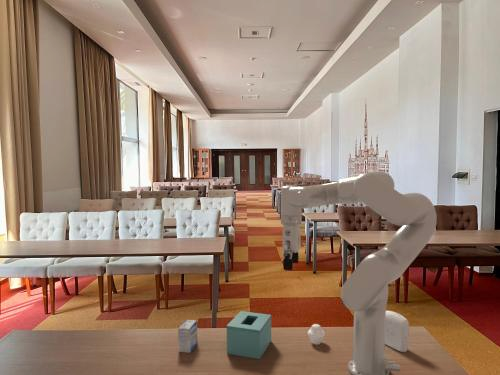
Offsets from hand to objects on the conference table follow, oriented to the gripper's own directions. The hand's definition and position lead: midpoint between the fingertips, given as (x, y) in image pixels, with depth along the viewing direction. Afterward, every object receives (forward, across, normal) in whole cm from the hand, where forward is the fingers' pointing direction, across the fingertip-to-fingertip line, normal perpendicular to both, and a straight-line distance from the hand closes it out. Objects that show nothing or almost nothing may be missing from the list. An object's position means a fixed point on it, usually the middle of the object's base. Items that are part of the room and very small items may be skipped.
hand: (291, 266), depth 145 cm
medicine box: (+29, -16, +34) cm, 47 cm away
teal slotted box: (+28, -9, +13) cm, 32 cm away
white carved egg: (+28, +2, -9) cm, 30 cm away
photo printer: (+29, +8, -36) cm, 47 cm away
